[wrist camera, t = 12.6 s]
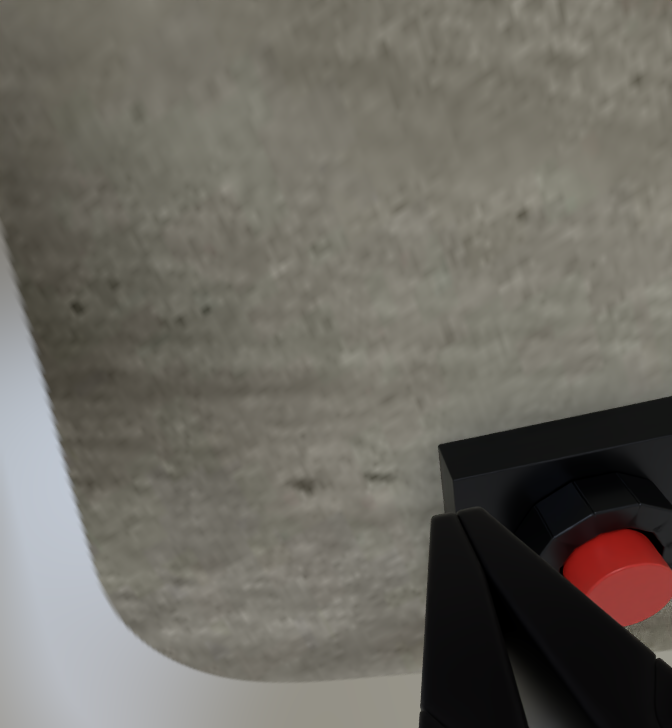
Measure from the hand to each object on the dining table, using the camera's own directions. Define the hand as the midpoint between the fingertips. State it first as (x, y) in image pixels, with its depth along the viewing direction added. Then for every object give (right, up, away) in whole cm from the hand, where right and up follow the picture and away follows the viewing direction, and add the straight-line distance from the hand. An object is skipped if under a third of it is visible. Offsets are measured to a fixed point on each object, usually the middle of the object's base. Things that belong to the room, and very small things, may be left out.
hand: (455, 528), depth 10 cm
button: (+9, -5, +14) cm, 17 cm away
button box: (+8, -3, +17) cm, 19 cm away
